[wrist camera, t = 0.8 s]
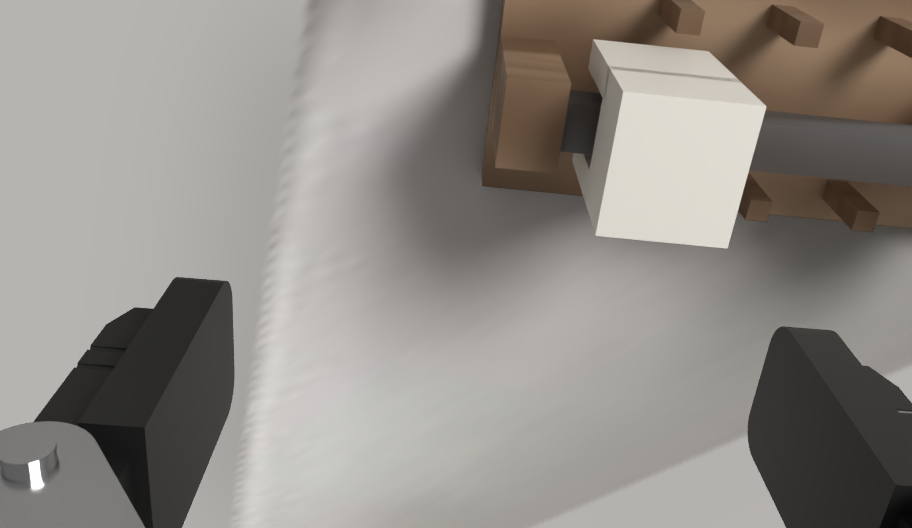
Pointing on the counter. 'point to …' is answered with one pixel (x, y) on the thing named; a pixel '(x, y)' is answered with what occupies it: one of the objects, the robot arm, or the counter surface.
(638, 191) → the grooved cream cube
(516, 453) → the counter surface
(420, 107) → the counter surface
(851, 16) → the brown peg stand
